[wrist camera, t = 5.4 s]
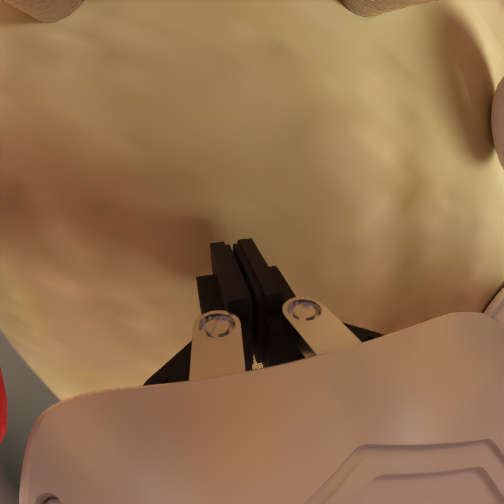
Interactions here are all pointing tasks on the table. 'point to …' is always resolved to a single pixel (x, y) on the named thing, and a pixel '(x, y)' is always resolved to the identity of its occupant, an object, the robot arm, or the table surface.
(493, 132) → the donut
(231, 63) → the table surface
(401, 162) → the table surface
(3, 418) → the strawberry
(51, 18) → the post
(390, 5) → the post
